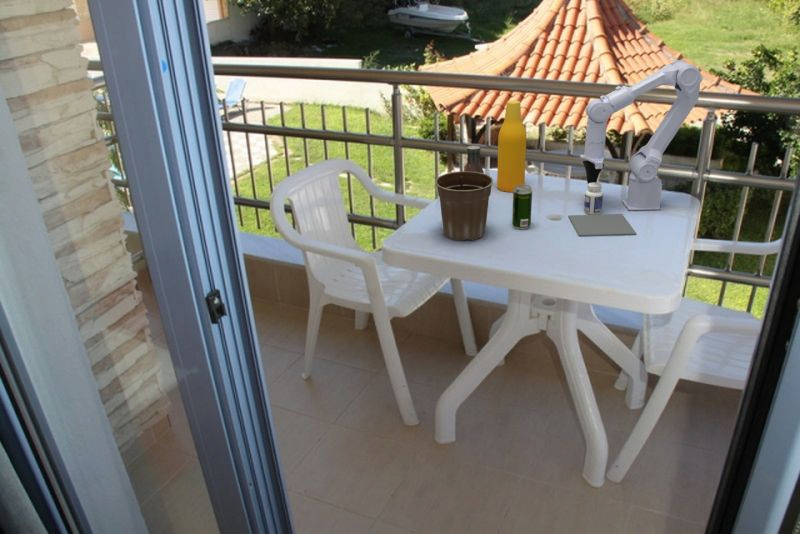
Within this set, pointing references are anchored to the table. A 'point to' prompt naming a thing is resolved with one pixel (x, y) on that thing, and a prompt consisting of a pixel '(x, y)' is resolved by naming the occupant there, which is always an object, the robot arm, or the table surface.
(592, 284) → the table surface
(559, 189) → the table surface
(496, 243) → the table surface
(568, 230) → the table surface
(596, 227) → the mat
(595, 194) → the pill bottle
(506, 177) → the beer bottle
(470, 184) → the plant pot
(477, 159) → the sauce bottle
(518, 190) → the beer can
